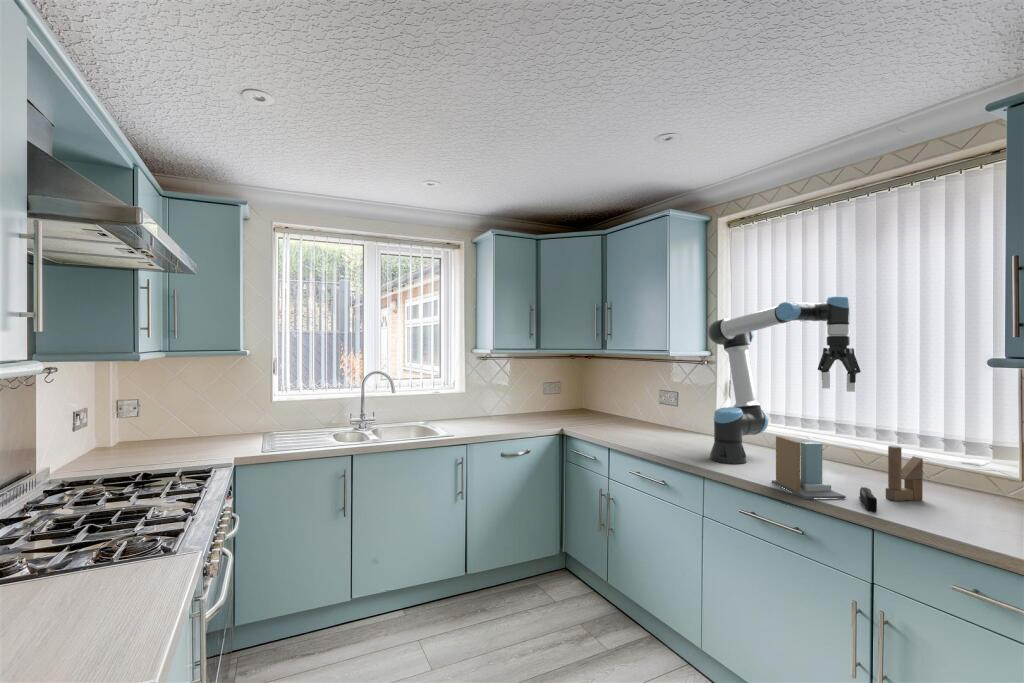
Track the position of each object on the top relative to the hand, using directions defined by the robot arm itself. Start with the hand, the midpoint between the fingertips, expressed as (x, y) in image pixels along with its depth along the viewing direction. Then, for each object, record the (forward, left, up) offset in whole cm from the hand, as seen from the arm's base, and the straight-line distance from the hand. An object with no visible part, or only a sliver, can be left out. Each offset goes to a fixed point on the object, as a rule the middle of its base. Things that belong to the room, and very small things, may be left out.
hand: (838, 390), depth 193 cm
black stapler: (+31, -13, -35) cm, 49 cm away
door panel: (+15, -21, -34) cm, 42 cm away
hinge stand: (+15, -22, -35) cm, 44 cm away
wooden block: (+26, +4, -35) cm, 44 cm away
